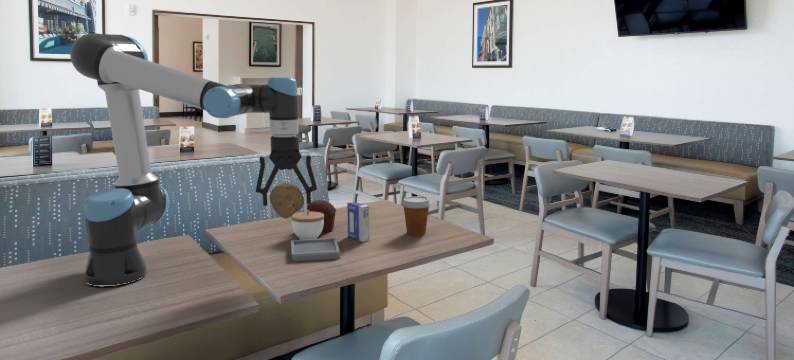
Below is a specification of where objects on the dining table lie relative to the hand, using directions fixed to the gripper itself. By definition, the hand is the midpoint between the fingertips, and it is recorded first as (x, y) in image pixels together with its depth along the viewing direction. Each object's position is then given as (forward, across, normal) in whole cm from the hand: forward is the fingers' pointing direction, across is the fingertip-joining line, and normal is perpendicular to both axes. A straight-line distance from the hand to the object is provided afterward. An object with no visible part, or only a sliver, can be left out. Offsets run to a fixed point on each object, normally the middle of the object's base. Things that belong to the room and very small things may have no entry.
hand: (287, 216), depth 162 cm
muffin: (+15, +11, +39) cm, 43 cm away
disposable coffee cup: (+16, +43, +28) cm, 53 cm away
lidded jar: (+16, +6, +29) cm, 34 cm away
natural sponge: (+1, 0, 0) cm, 1 cm away
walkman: (+16, +23, +26) cm, 38 cm away
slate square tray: (+15, +8, +14) cm, 22 cm away
